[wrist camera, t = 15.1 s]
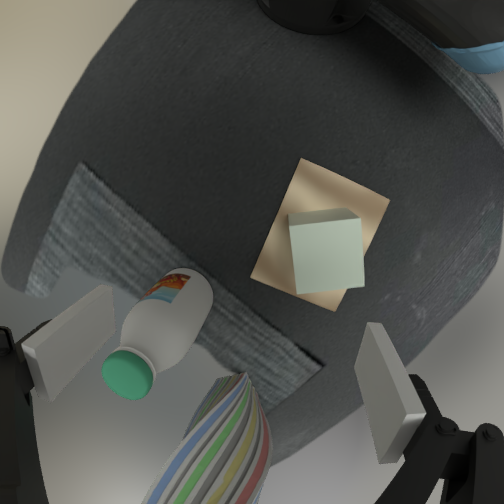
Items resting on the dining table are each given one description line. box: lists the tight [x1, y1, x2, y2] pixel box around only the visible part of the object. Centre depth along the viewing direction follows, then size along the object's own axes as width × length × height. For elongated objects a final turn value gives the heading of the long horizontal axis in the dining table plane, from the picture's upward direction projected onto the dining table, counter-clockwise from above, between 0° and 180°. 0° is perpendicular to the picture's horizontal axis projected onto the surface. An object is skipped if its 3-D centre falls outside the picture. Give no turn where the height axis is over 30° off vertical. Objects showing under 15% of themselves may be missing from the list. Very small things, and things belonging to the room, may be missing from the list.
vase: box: [141, 372, 273, 504], centre depth 32 cm, size 14×14×30 cm
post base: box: [250, 158, 390, 312], centre depth 36 cm, size 16×12×6 cm
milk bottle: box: [102, 268, 213, 400], centre depth 33 cm, size 8×8×20 cm
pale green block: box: [288, 207, 364, 294], centre depth 34 cm, size 7×7×8 cm
